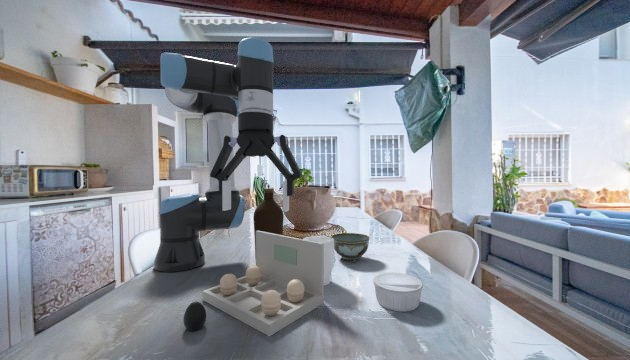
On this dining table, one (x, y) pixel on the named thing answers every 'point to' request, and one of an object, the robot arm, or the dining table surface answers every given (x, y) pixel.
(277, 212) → the olive oil
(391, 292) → the ramekin
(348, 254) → the bowl
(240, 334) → the dining table surface
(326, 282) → the cup
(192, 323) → the egg
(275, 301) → the carton
